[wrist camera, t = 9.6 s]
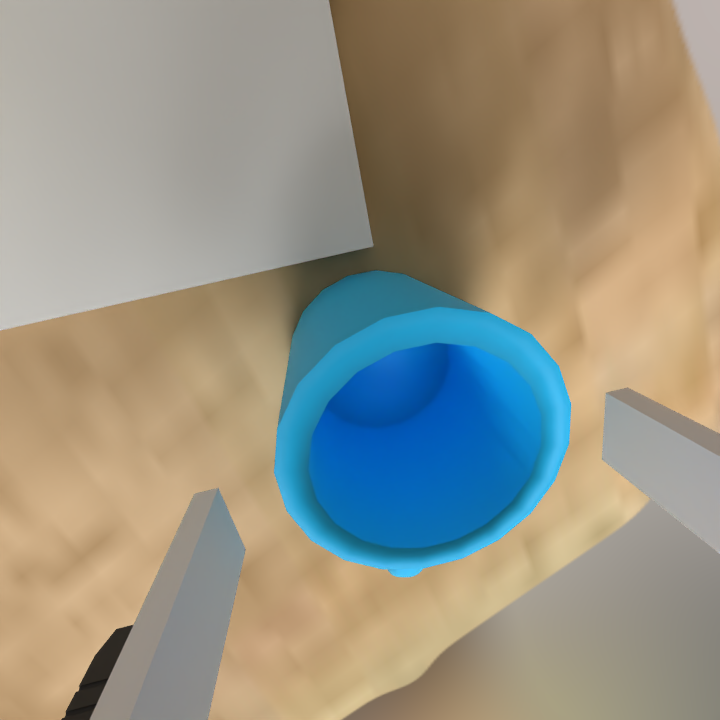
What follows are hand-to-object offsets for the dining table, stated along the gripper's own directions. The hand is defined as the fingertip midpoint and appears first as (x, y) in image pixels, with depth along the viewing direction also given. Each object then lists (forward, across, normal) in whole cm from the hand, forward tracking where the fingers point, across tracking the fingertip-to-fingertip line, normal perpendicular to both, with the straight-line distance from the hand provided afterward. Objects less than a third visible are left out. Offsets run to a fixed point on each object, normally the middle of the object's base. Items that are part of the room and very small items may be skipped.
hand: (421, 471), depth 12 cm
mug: (+7, 0, 0) cm, 7 cm away
